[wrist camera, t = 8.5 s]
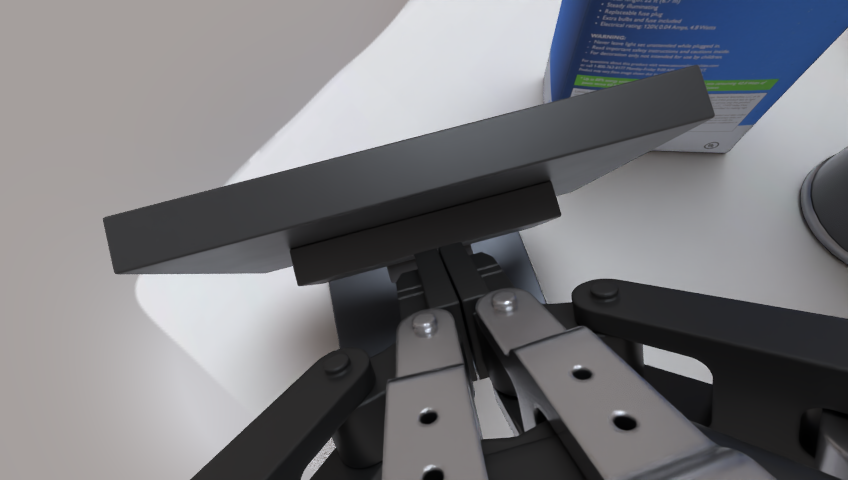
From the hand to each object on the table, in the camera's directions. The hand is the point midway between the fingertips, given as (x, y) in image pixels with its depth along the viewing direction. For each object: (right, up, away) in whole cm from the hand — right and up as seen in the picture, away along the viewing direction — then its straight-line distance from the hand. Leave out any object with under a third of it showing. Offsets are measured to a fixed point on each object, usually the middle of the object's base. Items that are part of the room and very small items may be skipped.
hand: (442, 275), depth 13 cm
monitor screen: (-1, +1, +9) cm, 9 cm away
